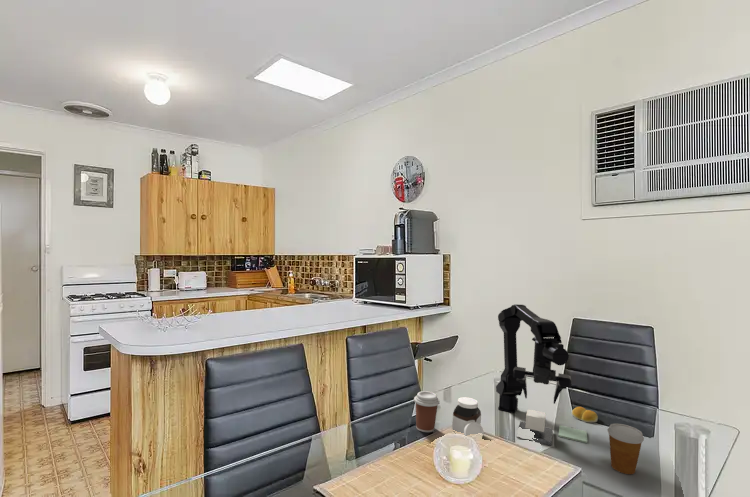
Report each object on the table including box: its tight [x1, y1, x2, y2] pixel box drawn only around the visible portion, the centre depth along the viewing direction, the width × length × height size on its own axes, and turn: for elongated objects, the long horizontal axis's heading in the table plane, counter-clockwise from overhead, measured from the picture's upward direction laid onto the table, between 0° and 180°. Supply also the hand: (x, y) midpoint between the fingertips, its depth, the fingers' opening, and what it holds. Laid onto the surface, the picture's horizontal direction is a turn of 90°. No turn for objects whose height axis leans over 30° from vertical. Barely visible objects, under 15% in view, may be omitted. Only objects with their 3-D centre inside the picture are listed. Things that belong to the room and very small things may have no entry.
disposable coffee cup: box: [607, 423, 645, 475], centre depth 126 cm, size 10×10×12 cm
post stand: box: [518, 421, 554, 447], centre depth 146 cm, size 11×11×6 cm
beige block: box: [525, 408, 547, 432], centre depth 146 cm, size 6×6×4 cm
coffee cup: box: [413, 390, 441, 433], centre depth 147 cm, size 9×9×12 cm
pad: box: [558, 424, 588, 444], centre depth 148 cm, size 9×9×1 cm
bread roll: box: [570, 406, 599, 424], centre depth 163 cm, size 8×9×4 cm
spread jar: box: [451, 396, 484, 436], centre depth 142 cm, size 12×11×12 cm
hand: (539, 400), depth 146 cm, fingers open, 9 cm apart
